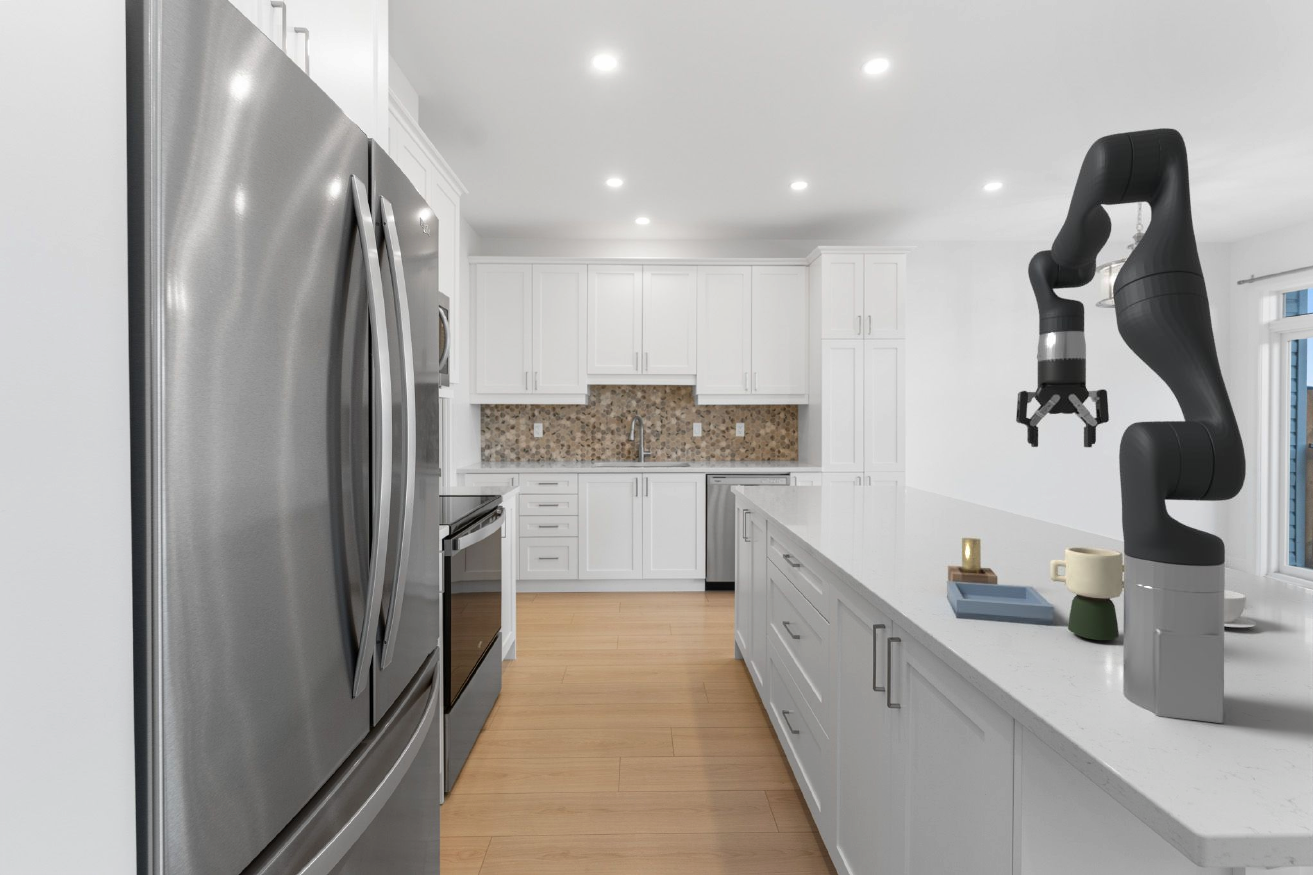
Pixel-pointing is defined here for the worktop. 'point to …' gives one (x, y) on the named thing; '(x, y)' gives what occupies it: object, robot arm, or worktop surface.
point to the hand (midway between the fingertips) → (1061, 447)
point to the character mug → (1092, 589)
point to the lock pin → (971, 555)
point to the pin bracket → (971, 576)
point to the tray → (999, 603)
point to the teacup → (1235, 610)
